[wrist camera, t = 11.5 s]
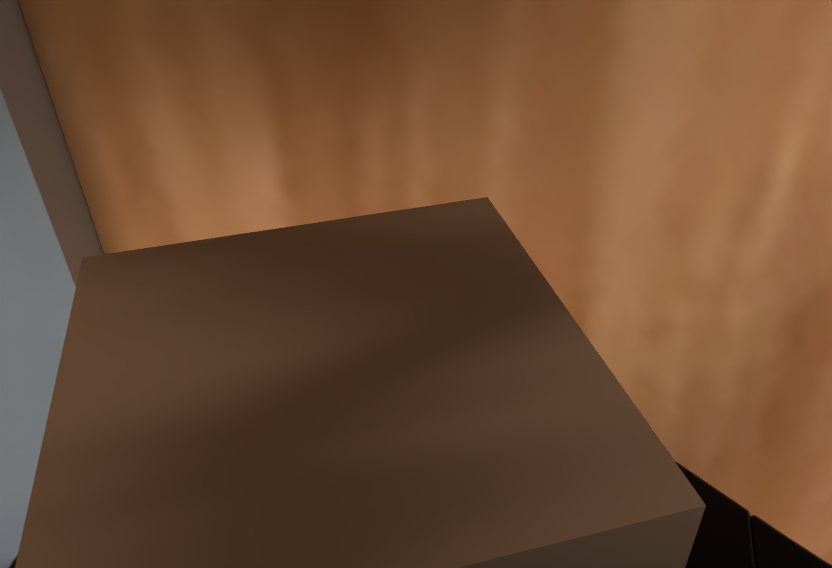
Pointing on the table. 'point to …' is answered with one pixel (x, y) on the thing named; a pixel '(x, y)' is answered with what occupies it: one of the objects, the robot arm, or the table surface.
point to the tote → (32, 265)
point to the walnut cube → (345, 411)
